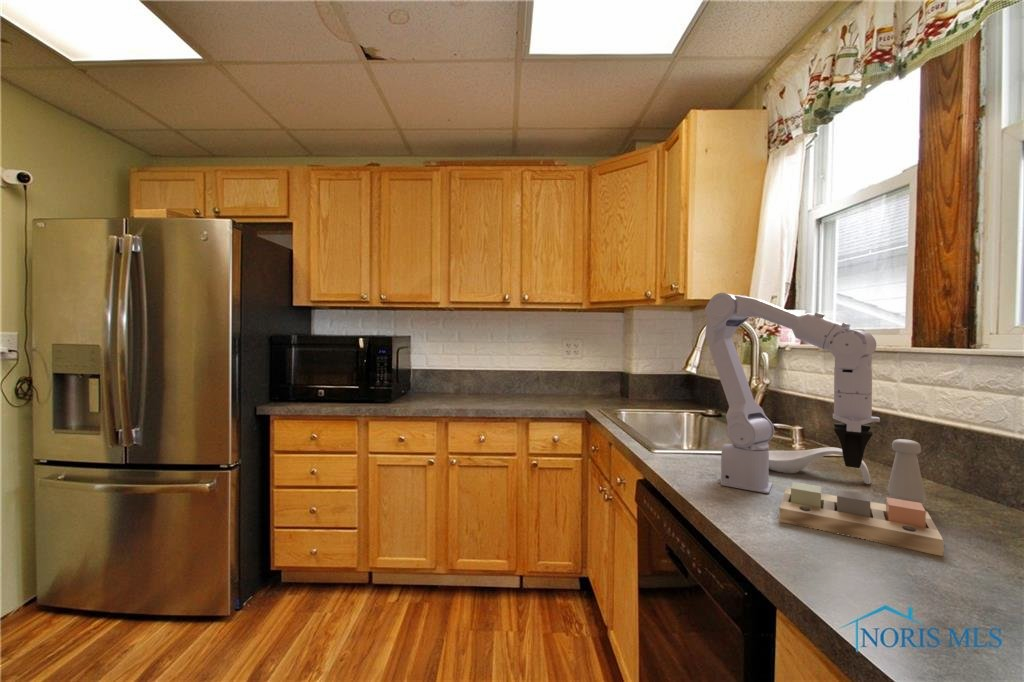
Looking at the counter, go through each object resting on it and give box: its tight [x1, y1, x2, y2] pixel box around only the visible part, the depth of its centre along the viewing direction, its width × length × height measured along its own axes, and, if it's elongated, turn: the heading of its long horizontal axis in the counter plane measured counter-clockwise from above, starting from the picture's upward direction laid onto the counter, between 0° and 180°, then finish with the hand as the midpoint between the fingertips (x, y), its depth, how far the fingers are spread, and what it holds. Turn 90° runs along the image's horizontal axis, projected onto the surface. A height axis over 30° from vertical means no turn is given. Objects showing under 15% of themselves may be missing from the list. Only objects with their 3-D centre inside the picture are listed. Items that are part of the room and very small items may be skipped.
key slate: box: [836, 488, 871, 517], centre depth 79 cm, size 5×5×3 cm
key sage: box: [790, 481, 822, 508], centre depth 83 cm, size 5×5×3 cm
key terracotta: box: [885, 497, 927, 528], centre depth 75 cm, size 5×5×3 cm
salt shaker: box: [886, 438, 927, 505], centre depth 88 cm, size 6×6×13 cm
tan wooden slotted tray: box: [779, 486, 944, 557], centre depth 79 cm, size 21×14×3 cm, turn 54°
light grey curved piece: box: [769, 446, 872, 485], centre depth 110 cm, size 24×12×7 cm, turn 55°
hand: (852, 463), depth 84 cm, fingers open, 4 cm apart
